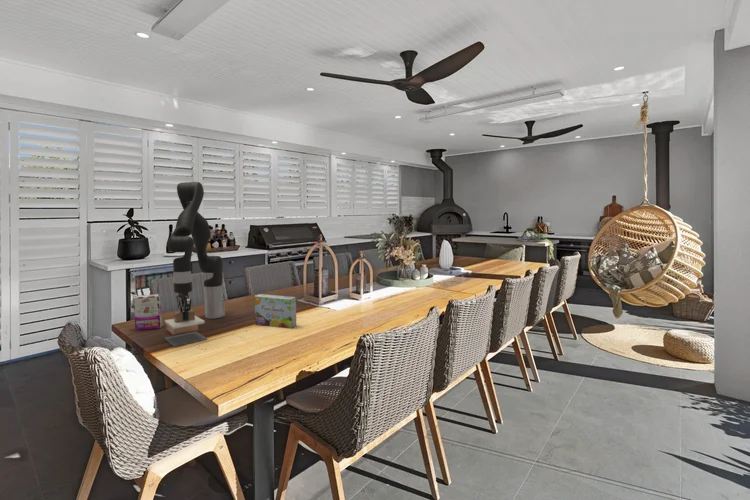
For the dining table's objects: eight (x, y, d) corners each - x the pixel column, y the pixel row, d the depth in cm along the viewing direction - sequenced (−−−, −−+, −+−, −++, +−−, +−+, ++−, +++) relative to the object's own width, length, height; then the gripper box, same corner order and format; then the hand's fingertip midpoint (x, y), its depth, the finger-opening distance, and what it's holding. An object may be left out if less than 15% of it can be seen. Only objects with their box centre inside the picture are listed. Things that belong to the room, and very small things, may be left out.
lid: (194, 317, 194) (194, 307, 193) (204, 323, 184) (204, 312, 183) (164, 322, 185) (164, 311, 185) (173, 328, 175) (172, 317, 175)
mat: (196, 332, 195) (196, 331, 195) (207, 339, 185) (207, 338, 185) (164, 339, 186) (164, 337, 186) (174, 346, 176) (173, 345, 176)
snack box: (254, 325, 208) (253, 295, 207) (261, 322, 213) (260, 293, 212) (291, 329, 201) (290, 298, 200) (297, 325, 207) (296, 296, 205)
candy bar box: (162, 326, 206) (161, 293, 205) (160, 328, 202) (158, 296, 200) (137, 327, 203) (135, 295, 202) (135, 330, 199) (132, 297, 197)
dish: (190, 325, 206) (190, 316, 206) (198, 330, 198) (197, 320, 198) (166, 330, 199) (166, 320, 199) (173, 335, 191) (173, 325, 190)
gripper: (196, 282, 180) (198, 320, 182) (186, 278, 190) (188, 314, 192) (178, 284, 175) (180, 324, 177) (169, 280, 185) (171, 317, 187)
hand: (184, 318), depth 184 cm, fingers closed on lid, 3 cm apart
